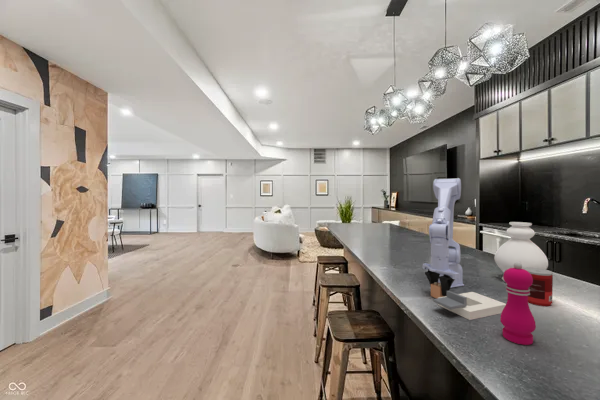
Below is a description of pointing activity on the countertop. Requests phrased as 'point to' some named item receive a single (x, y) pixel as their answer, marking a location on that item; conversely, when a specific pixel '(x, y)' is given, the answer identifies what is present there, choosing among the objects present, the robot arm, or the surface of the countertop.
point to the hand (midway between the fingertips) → (439, 293)
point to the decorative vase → (520, 249)
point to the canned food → (540, 287)
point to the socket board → (478, 306)
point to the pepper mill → (518, 306)
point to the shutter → (452, 301)
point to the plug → (436, 290)
